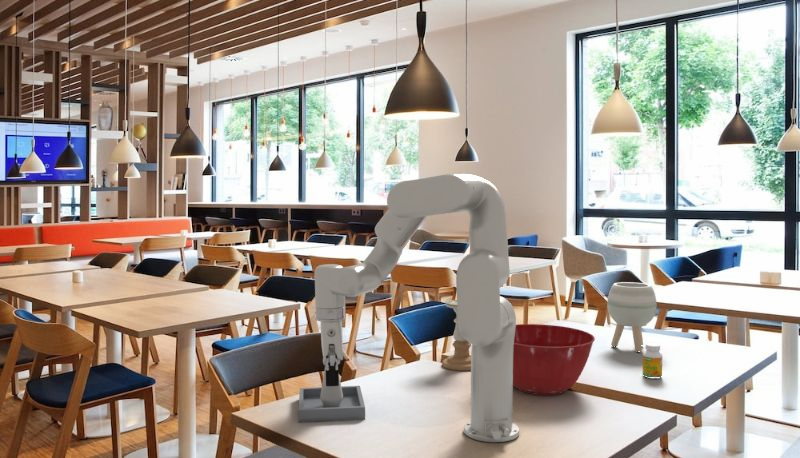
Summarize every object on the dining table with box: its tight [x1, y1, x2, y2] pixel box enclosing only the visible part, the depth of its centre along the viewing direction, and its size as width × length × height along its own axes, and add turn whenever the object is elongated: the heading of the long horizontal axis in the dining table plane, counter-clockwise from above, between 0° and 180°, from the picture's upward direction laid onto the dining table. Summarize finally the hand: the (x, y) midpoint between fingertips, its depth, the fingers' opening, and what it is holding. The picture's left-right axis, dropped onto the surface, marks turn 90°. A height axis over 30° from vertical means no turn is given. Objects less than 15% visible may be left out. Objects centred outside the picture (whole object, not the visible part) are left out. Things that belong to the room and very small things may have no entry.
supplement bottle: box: [642, 342, 663, 377], centre depth 201 cm, size 5×5×10 cm
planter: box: [606, 281, 658, 352], centre depth 236 cm, size 16×16×22 cm
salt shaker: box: [320, 357, 343, 408], centre depth 173 cm, size 6×6×13 cm
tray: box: [298, 385, 366, 423], centre depth 173 cm, size 18×16×3 cm
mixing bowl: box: [513, 323, 596, 396], centre depth 190 cm, size 28×28×16 cm
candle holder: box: [441, 299, 472, 372], centre depth 214 cm, size 12×12×20 cm
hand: (331, 380), depth 173 cm, fingers open, 9 cm apart
